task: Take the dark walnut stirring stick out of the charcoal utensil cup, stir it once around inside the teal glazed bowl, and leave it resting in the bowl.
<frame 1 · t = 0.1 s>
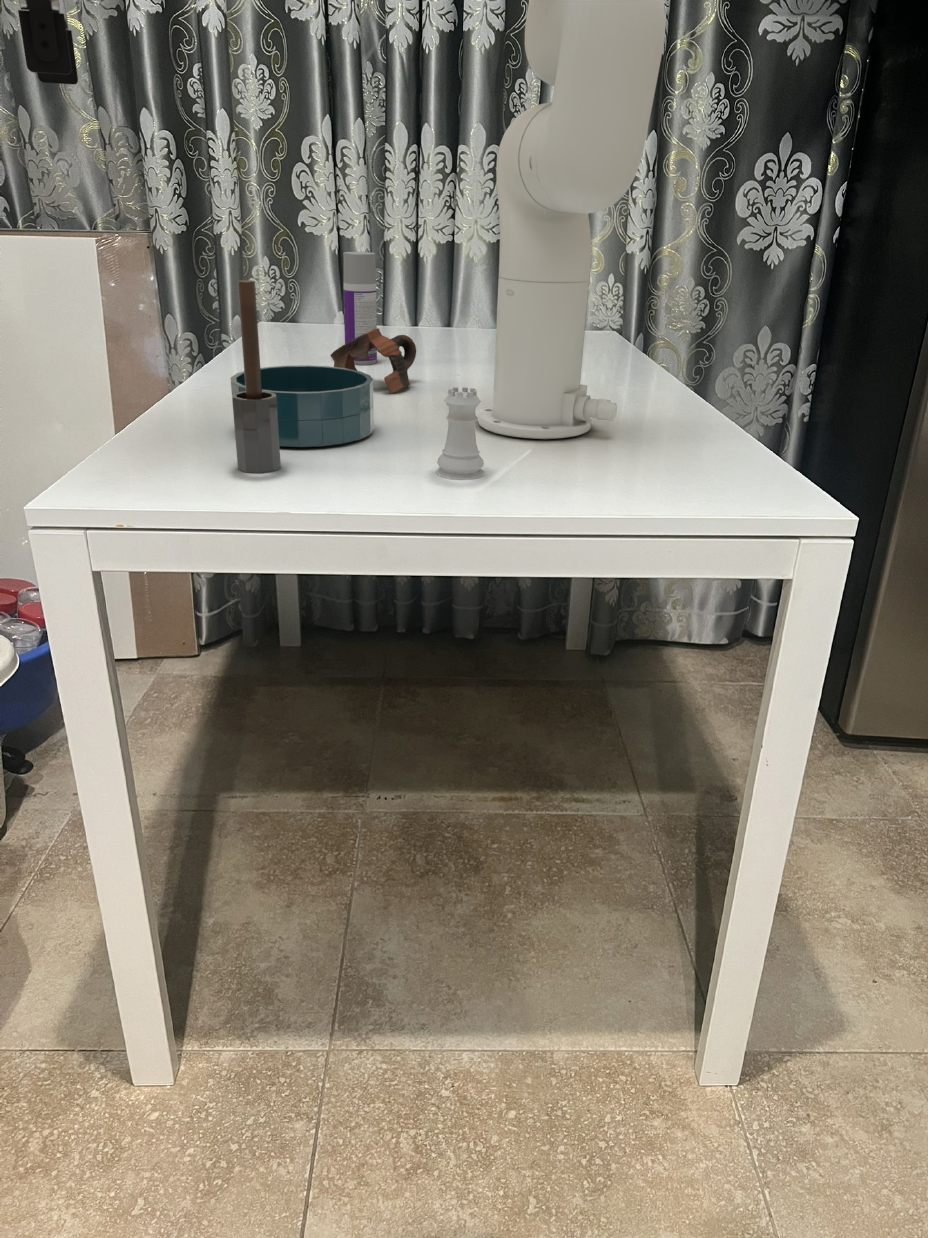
hand: (54, 78, 75), 31 cm above the table, tool pointing down, fingers open, 9 cm apart
rook chess piece: (460, 479, 83), on the table
container: (361, 363, 134), on the table
brown twisted loop sculpture: (379, 387, 119), on the table
utensil cup: (259, 472, 83), on the table
bowl: (305, 436, 95), on the table
stick: (259, 466, 83), resting on utensil cup
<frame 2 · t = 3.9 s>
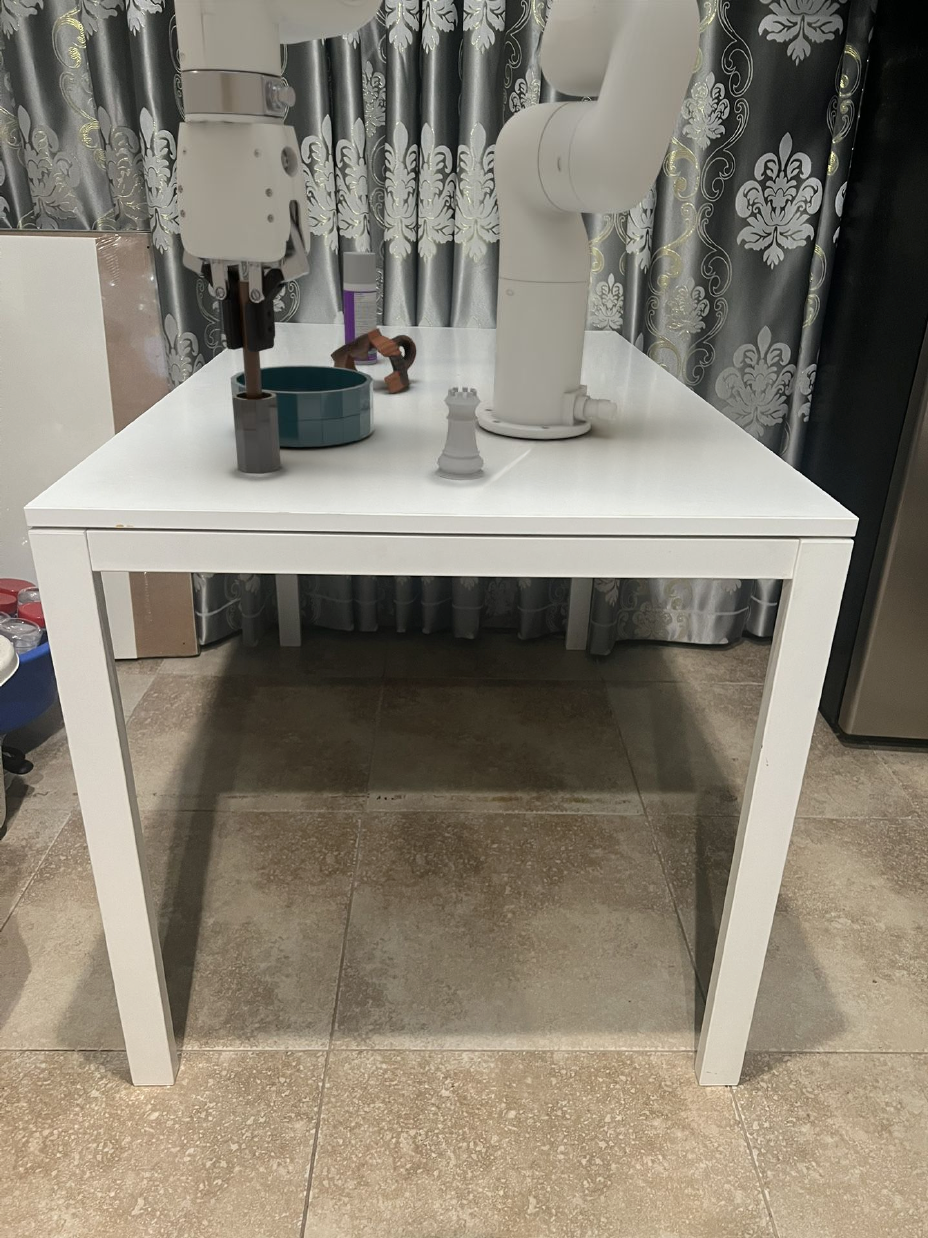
hand: (250, 347, 78), 11 cm above the table, tool pointing down, fingers closed on stick, 1 cm apart
stick: (259, 466, 83), point 1 cm above the table, touching gripper, utensil cup
everything else where it was.
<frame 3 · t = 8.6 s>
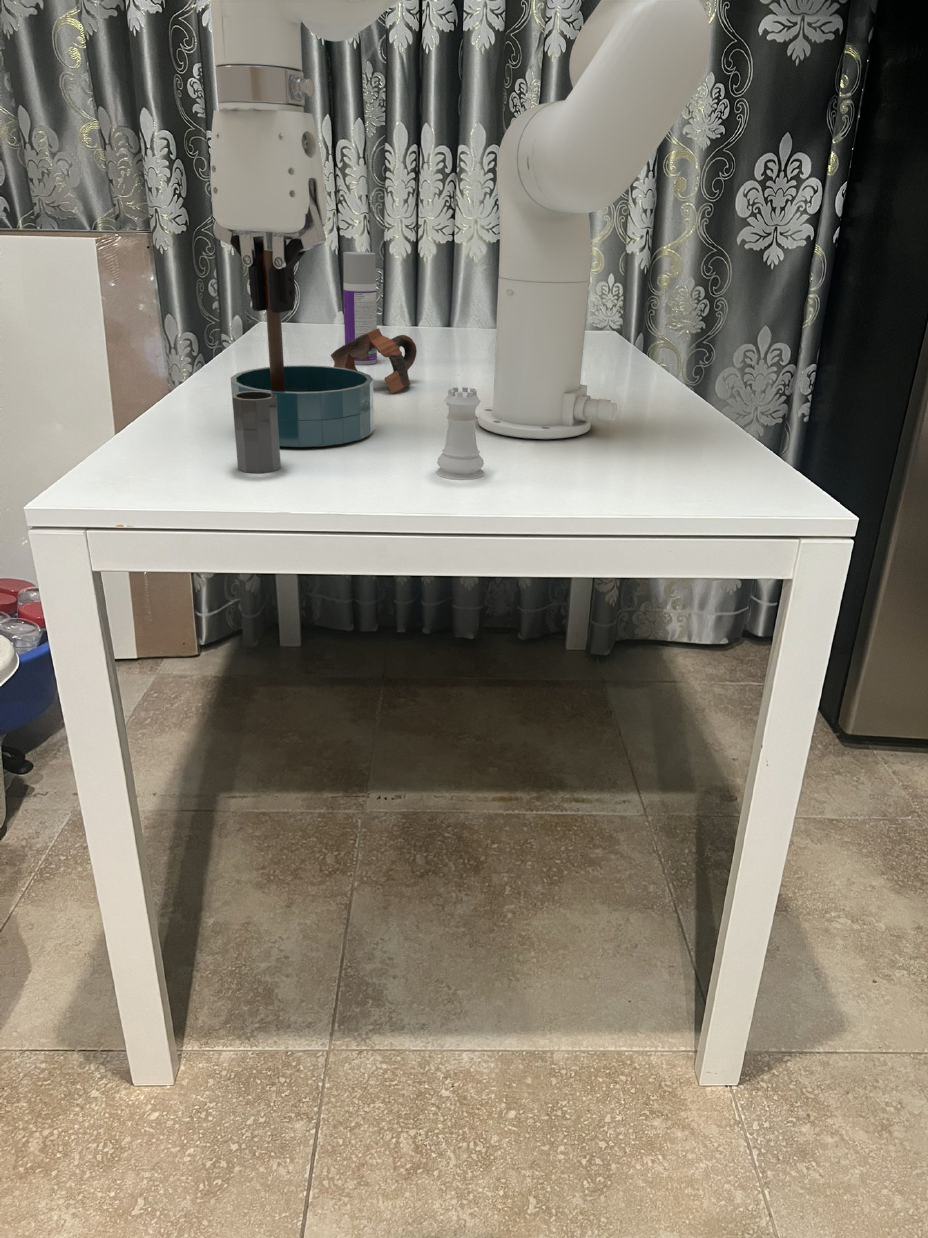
hand: (273, 309, 89), 13 cm above the table, tool pointing down, fingers closed on stick, 1 cm apart
stick: (279, 417, 93), point 2 cm above the table, touching gripper
everything else where it was.
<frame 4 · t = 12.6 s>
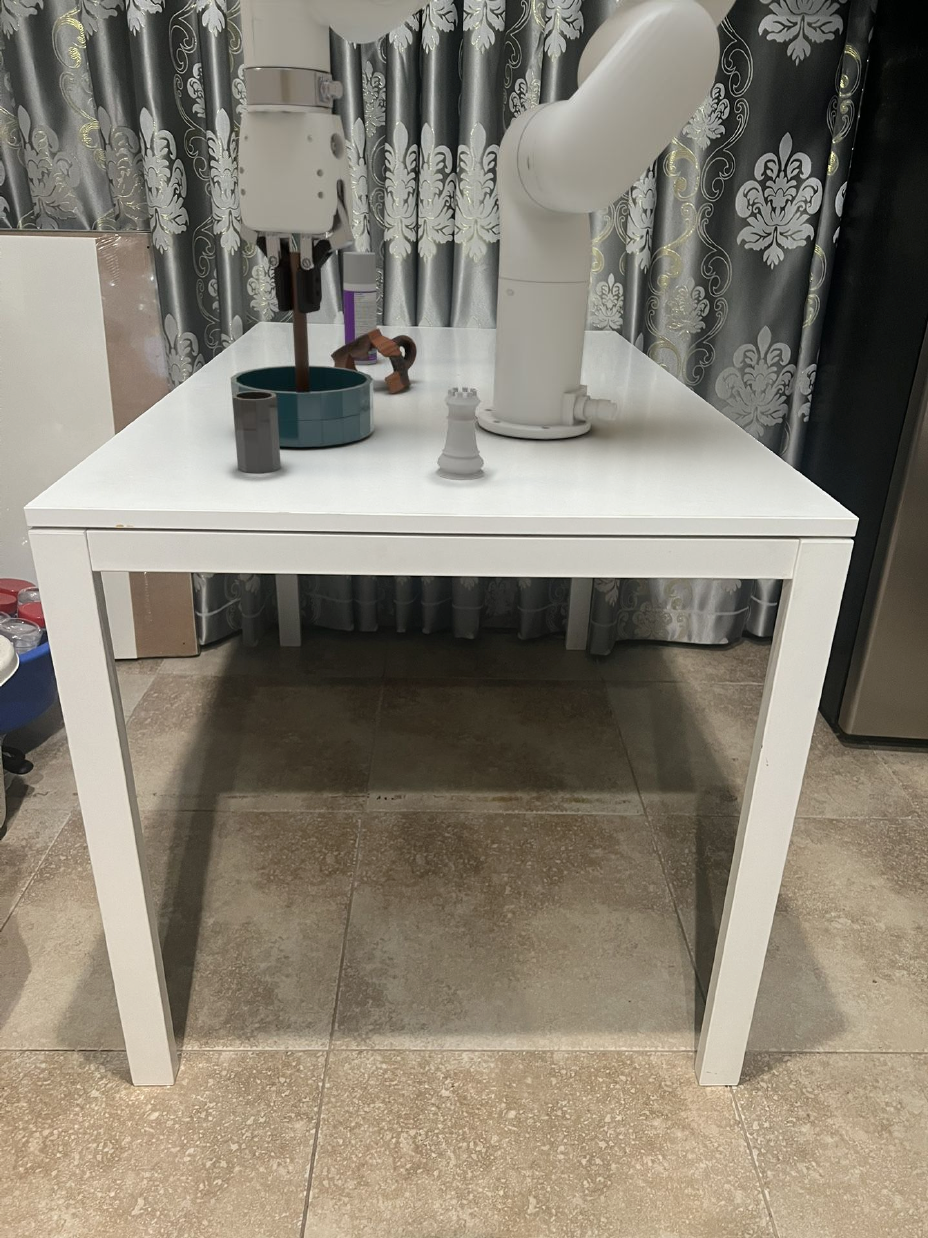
hand: (299, 309, 89), 13 cm above the table, tool pointing down, fingers closed
stick: (304, 417, 94), point 2 cm above the table
everything else where it was.
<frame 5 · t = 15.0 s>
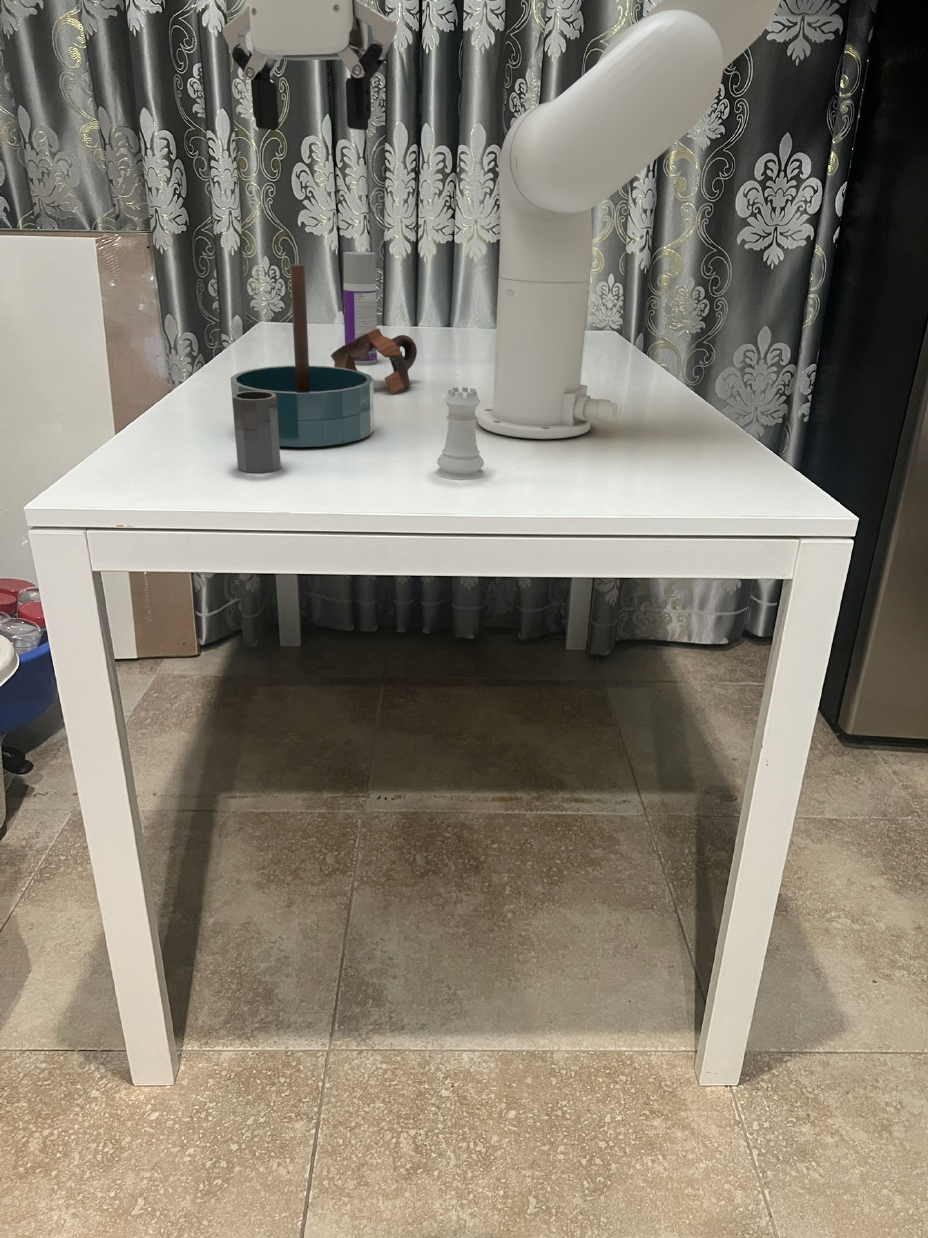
hand: (312, 128, 86), 29 cm above the table, tool pointing down, fingers open, 9 cm apart
stick: (304, 428, 94), point 1 cm above the table, touching bowl
everything else where it was.
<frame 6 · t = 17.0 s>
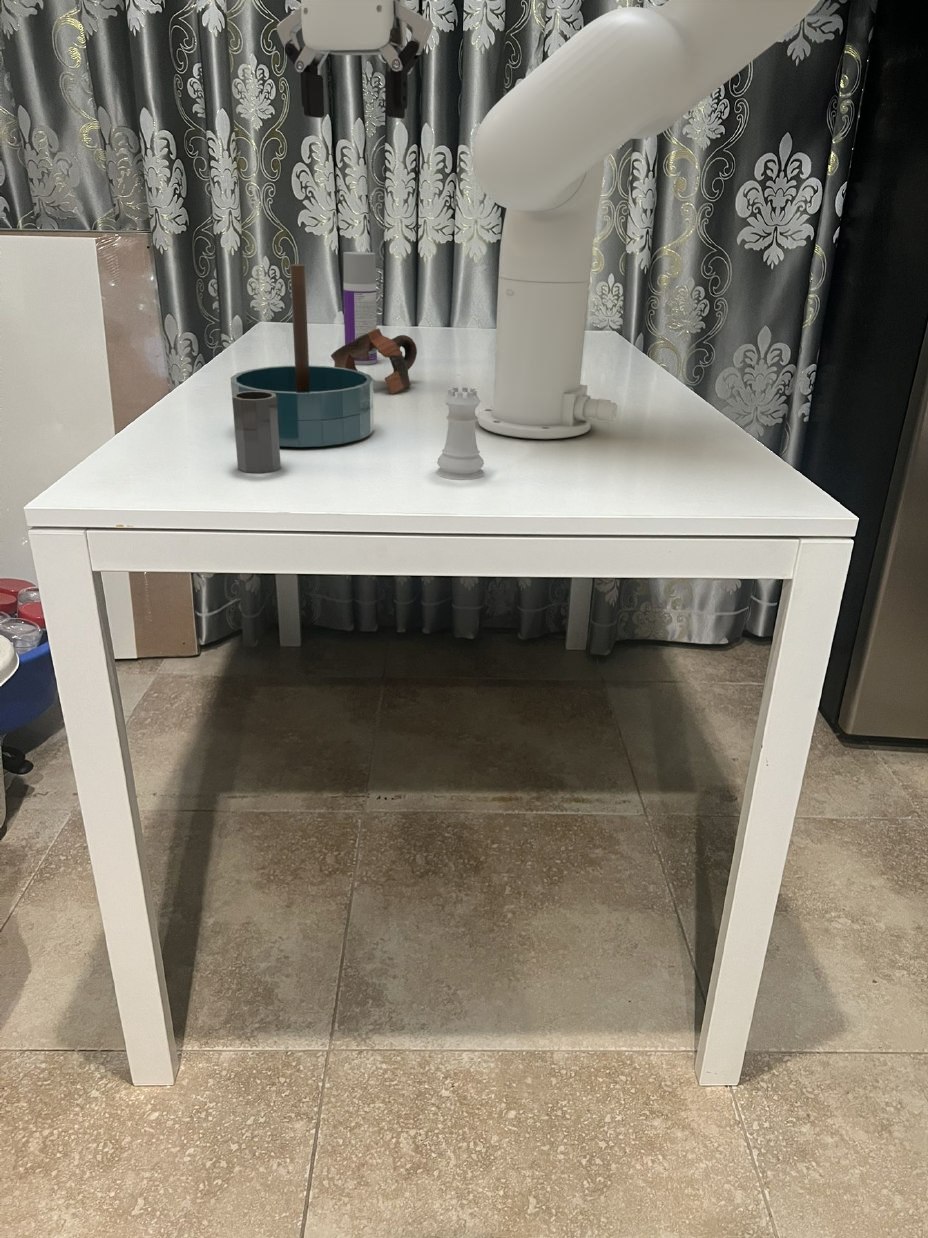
hand: (354, 116, 96), 30 cm above the table, tool pointing down, fingers open, 9 cm apart
nothing on the table moved.
at the end: stick moved 13.3 cm from its start; stick inside the target area in the bowl (0.0 cm from its centre), point 0.8 cm above the bowl's base; the gripper is holding nothing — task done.
